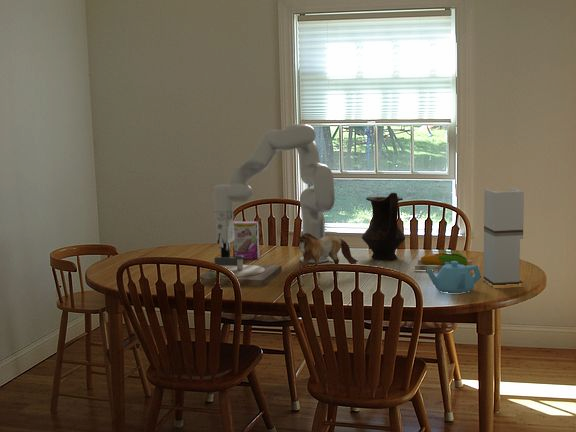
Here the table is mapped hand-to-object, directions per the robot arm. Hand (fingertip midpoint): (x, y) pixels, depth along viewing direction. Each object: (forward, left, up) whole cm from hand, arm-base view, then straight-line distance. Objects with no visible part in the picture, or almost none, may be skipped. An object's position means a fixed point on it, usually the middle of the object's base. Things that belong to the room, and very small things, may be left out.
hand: (225, 259), depth 327 cm
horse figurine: (-45, +8, -6) cm, 46 cm away
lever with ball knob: (-4, +6, -3) cm, 8 cm away
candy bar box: (+1, -30, -6) cm, 31 cm away
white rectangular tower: (-109, +3, -6) cm, 109 cm away
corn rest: (-86, -20, -6) cm, 89 cm away
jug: (-60, -35, -6) cm, 70 cm away
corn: (-86, -20, -6) cm, 88 cm away
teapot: (-92, +15, -6) cm, 93 cm away
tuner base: (-8, +6, -6) cm, 12 cm away
